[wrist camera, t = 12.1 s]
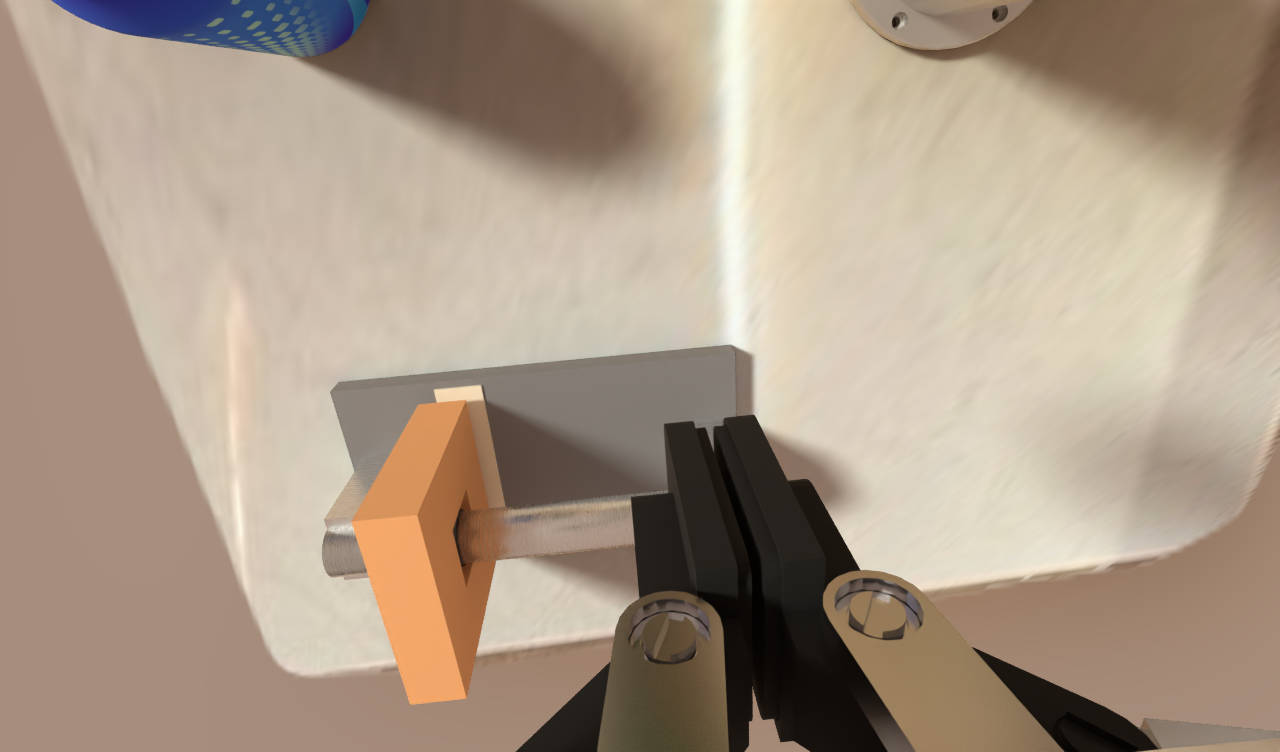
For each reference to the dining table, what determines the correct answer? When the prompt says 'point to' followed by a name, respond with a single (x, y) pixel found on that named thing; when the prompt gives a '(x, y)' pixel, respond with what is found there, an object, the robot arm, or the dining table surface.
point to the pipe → (493, 525)
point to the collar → (427, 551)
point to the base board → (555, 419)
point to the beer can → (231, 22)
